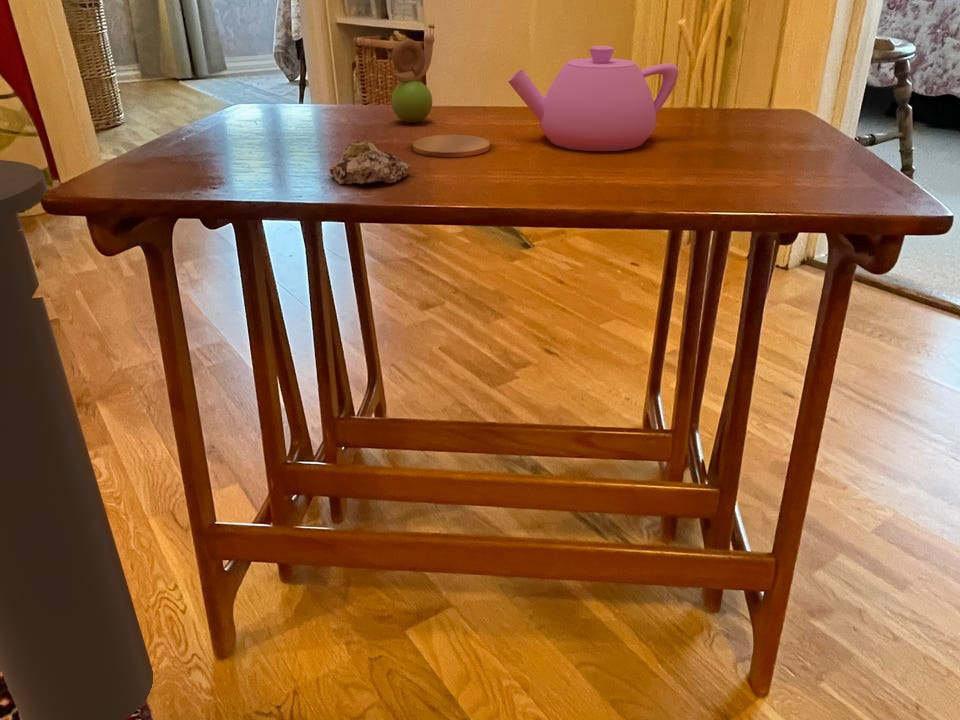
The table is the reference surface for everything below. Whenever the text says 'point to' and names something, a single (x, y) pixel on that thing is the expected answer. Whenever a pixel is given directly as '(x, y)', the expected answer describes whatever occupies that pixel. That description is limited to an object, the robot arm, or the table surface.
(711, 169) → the table surface
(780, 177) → the table surface
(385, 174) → the mineral rock
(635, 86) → the teapot
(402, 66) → the snail figurine
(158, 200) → the table surface
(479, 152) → the cork coaster
